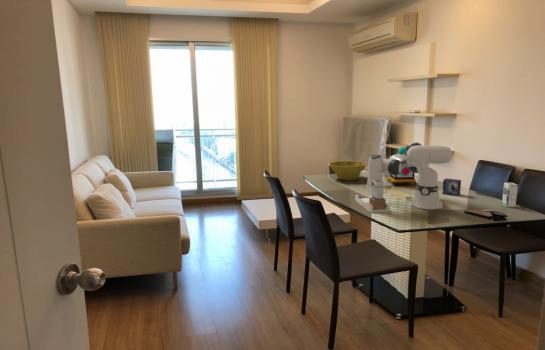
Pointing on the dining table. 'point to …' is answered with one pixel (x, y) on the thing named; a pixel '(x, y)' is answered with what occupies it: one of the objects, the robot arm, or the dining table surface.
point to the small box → (451, 187)
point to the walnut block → (377, 203)
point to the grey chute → (369, 207)
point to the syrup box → (509, 194)
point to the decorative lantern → (403, 172)
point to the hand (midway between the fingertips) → (374, 202)
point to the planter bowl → (347, 169)
